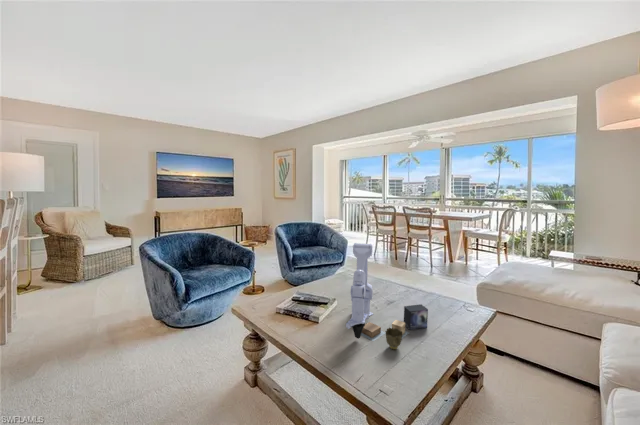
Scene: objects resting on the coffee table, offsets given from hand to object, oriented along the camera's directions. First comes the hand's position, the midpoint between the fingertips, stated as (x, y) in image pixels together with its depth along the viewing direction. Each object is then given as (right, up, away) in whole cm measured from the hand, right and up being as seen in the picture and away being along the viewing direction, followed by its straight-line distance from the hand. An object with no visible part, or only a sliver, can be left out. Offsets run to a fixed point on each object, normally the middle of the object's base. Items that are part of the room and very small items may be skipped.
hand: (357, 337), depth 131 cm
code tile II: (+21, -1, +7) cm, 22 cm away
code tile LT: (+8, -1, +7) cm, 10 cm away
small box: (+32, -1, +13) cm, 34 cm away
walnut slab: (+8, -1, +7) cm, 10 cm away
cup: (+15, -2, -6) cm, 17 cm away
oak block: (+21, -1, +7) cm, 22 cm away
